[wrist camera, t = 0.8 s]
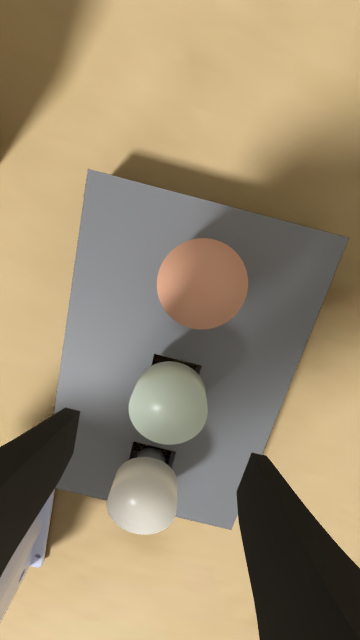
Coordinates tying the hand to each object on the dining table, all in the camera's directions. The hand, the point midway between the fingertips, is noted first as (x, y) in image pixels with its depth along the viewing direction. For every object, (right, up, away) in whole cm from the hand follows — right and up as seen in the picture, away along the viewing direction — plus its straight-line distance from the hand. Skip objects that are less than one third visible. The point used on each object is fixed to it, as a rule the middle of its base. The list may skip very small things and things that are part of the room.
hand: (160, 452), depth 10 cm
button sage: (0, +2, +6) cm, 6 cm away
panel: (0, +2, +8) cm, 8 cm away
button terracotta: (+2, +8, +5) cm, 9 cm away
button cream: (-1, -4, +8) cm, 9 cm away
